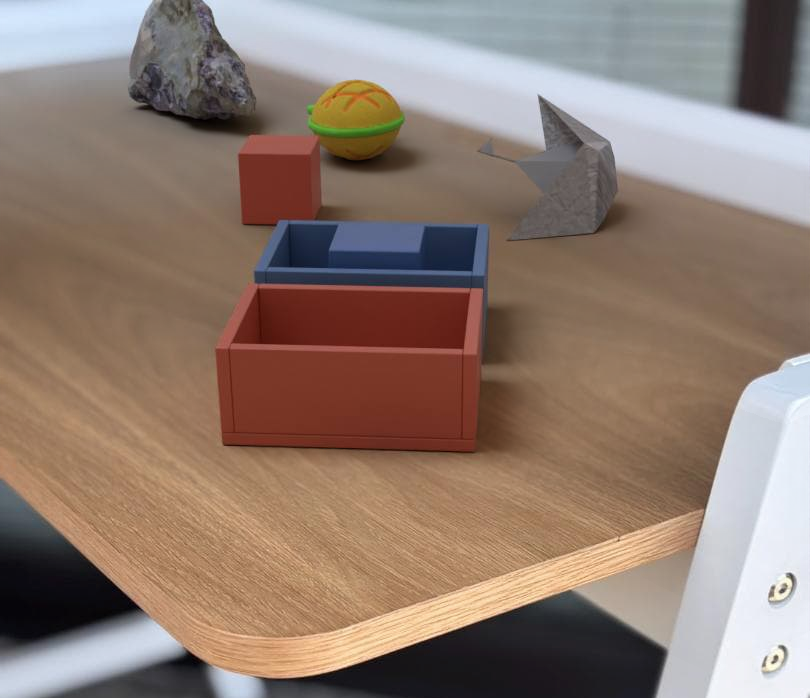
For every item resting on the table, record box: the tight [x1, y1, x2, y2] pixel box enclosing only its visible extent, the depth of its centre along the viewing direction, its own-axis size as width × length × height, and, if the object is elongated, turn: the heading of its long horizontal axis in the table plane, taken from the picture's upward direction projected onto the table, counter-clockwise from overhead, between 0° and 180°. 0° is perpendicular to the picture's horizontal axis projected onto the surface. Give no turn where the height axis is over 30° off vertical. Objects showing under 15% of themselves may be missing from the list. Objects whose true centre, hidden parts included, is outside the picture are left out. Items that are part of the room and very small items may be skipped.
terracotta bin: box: [214, 283, 483, 453], centre depth 68 cm, size 11×8×5 cm
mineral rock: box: [127, 0, 257, 120], centre depth 116 cm, size 13×11×10 cm
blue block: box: [329, 223, 425, 270], centre depth 77 cm, size 4×4×4 cm
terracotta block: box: [237, 134, 323, 226], centre depth 95 cm, size 4×4×4 cm
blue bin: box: [253, 220, 490, 364], centre depth 77 cm, size 11×8×5 cm
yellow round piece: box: [306, 79, 405, 161], centre depth 108 cm, size 7×10×5 cm
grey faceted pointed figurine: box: [476, 93, 619, 241], centre depth 94 cm, size 12×6×9 cm
